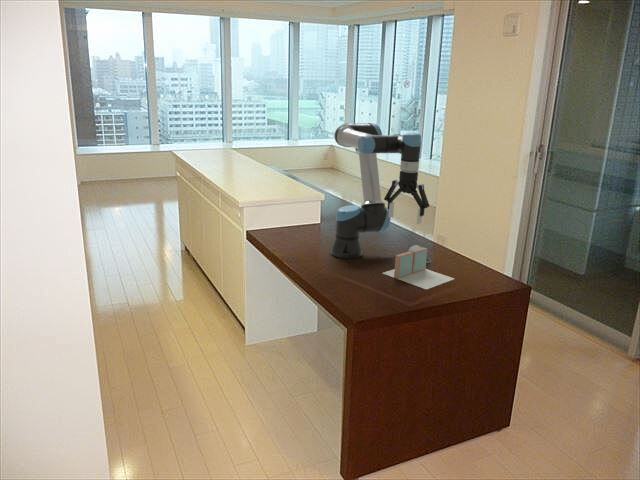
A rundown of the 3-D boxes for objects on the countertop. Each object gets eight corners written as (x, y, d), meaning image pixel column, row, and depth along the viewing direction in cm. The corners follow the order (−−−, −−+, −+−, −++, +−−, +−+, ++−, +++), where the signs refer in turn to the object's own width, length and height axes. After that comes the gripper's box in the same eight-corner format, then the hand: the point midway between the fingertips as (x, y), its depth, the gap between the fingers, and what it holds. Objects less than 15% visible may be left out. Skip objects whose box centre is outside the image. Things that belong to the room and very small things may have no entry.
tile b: (408, 272, 232) (410, 250, 229) (421, 268, 238) (423, 247, 235) (413, 274, 231) (414, 252, 228) (425, 269, 236) (427, 248, 233)
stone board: (381, 275, 231) (381, 273, 231) (410, 266, 244) (410, 263, 244) (426, 292, 214) (426, 289, 214) (454, 281, 227) (455, 278, 227)
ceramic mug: (409, 265, 245) (411, 249, 243) (407, 259, 253) (408, 244, 251) (432, 266, 245) (434, 251, 243) (429, 261, 253) (431, 245, 250)
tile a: (394, 277, 226) (395, 255, 223) (407, 273, 232) (409, 251, 229) (398, 279, 224) (399, 256, 221) (411, 274, 230) (413, 252, 227)
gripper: (378, 167, 224) (375, 216, 231) (432, 176, 210) (427, 227, 217) (387, 165, 230) (383, 213, 236) (440, 174, 216) (435, 223, 222)
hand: (404, 220), depth 226 cm, fingers open, 13 cm apart
